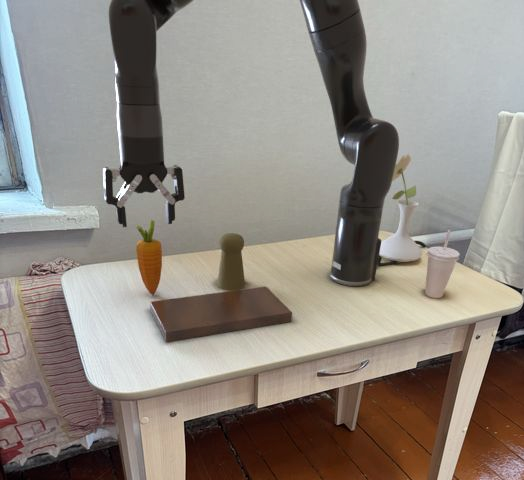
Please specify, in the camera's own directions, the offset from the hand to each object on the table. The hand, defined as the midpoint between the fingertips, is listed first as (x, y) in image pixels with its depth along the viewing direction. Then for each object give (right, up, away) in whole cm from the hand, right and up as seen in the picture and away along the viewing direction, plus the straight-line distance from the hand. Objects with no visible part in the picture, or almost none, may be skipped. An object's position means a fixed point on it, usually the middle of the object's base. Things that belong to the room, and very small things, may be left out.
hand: (147, 224), depth 95 cm
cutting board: (+14, -17, +1) cm, 22 cm away
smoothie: (+59, -12, +14) cm, 62 cm away
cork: (+15, -10, +14) cm, 23 cm away
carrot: (-1, -13, +8) cm, 15 cm away
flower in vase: (+55, -1, +32) cm, 64 cm away
